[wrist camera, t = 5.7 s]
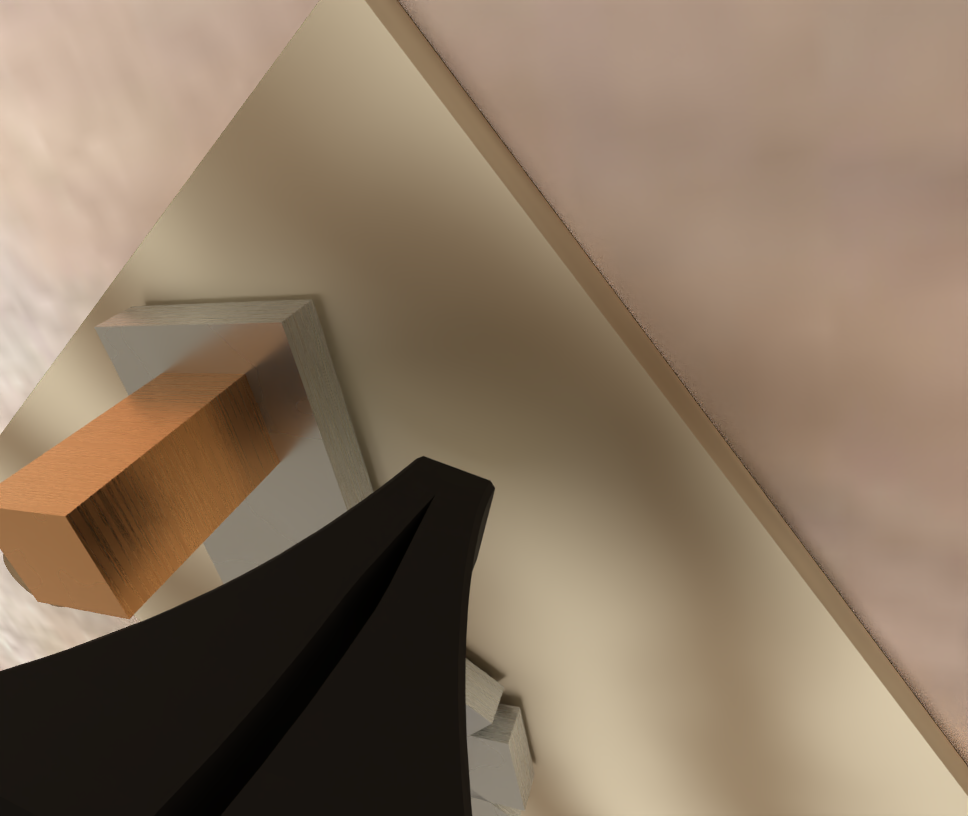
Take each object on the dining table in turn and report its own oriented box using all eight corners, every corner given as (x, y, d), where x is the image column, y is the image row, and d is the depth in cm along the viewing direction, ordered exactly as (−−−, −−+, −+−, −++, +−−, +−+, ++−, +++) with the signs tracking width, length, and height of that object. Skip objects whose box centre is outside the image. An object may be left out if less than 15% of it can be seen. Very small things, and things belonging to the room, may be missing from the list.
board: (467, 875, 26) (458, 903, 25) (2, 453, 21) (-28, 472, 20) (1036, 859, 15) (1052, 907, 15) (374, -31, 10) (341, -30, 9)
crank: (548, 833, 20) (496, 1052, 16) (295, 765, 23) (199, 932, 19) (427, 295, 11) (247, 472, 7) (54, 309, 14) (-210, 437, 10)
